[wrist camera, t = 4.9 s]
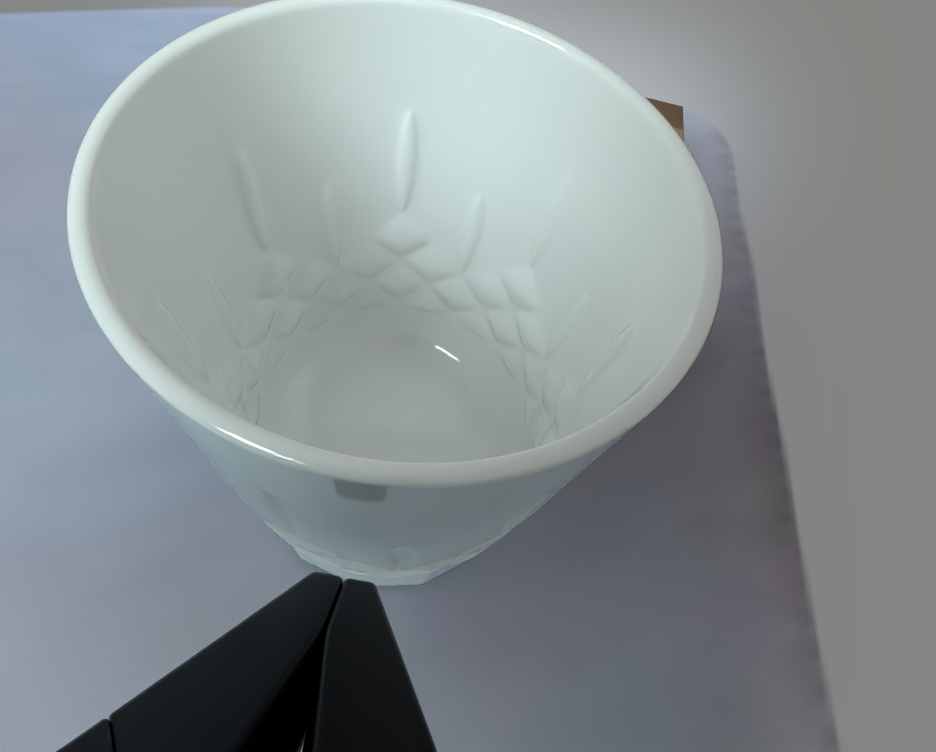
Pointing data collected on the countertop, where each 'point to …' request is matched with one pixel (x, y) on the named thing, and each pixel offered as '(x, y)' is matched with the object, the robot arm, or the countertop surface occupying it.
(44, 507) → the countertop surface
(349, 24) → the white cup
